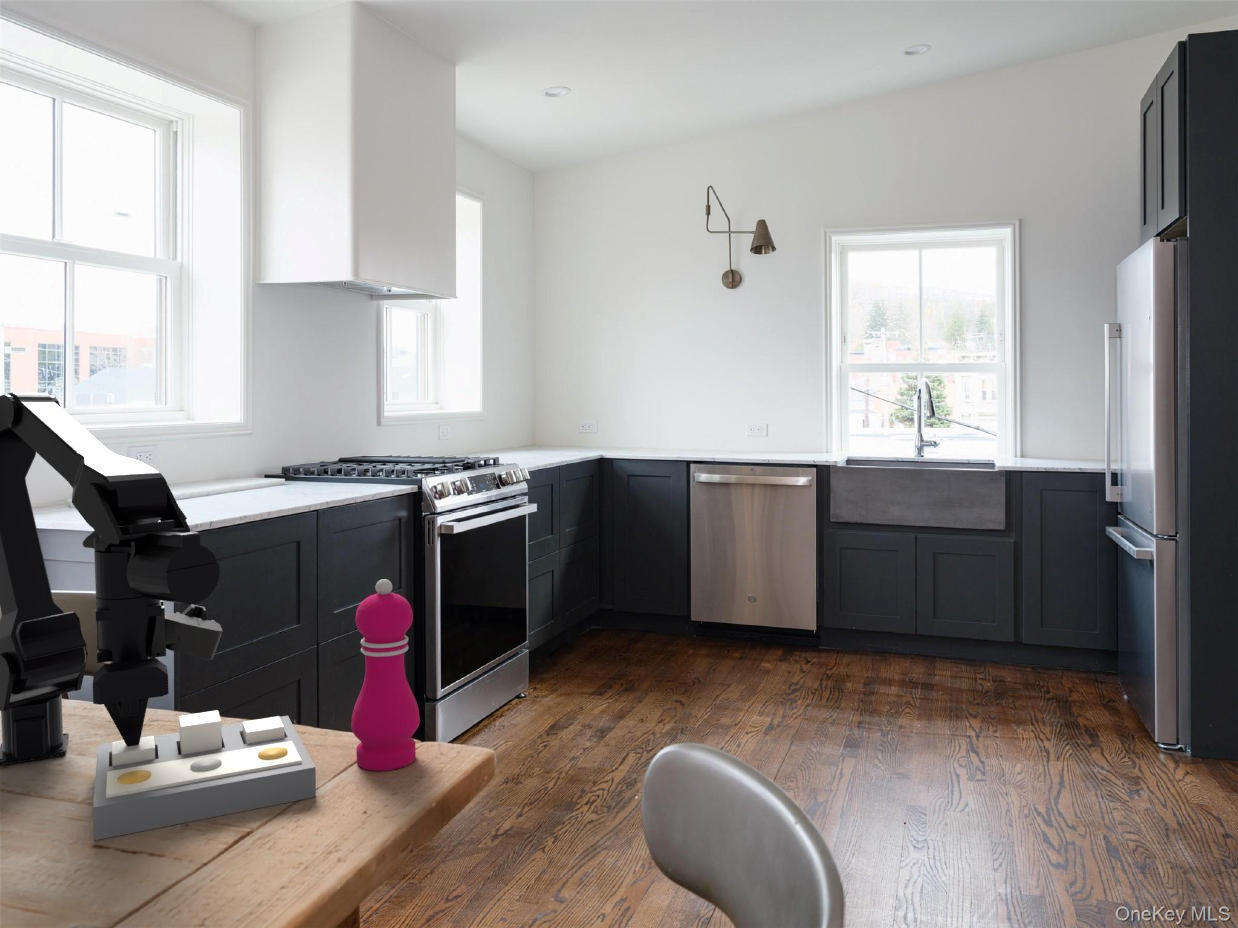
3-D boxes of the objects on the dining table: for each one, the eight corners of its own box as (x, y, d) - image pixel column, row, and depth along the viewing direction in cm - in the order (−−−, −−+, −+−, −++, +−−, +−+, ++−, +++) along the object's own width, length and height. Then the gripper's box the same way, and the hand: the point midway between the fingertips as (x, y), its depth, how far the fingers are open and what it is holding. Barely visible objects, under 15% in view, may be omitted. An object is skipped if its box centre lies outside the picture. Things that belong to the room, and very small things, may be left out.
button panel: (98, 772, 95) (97, 739, 95) (288, 740, 104) (287, 711, 104) (94, 840, 80) (92, 802, 80) (315, 796, 89) (315, 762, 89)
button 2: (242, 750, 99) (242, 721, 99) (279, 743, 101) (278, 715, 100) (247, 762, 95) (246, 732, 95) (284, 755, 97) (284, 726, 97)
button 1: (113, 772, 93) (112, 741, 93) (154, 765, 95) (153, 735, 94) (113, 785, 90) (111, 754, 89) (155, 778, 91) (154, 747, 91)
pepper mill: (402, 775, 94) (400, 587, 93) (339, 770, 96) (336, 584, 94) (430, 750, 101) (428, 574, 100) (371, 745, 103) (368, 571, 102)
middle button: (179, 745, 96) (178, 715, 96) (218, 738, 98) (217, 710, 97) (181, 757, 92) (180, 726, 92) (221, 750, 94) (221, 720, 94)
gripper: (224, 603, 87) (228, 761, 88) (208, 572, 103) (211, 705, 104) (89, 615, 81) (95, 784, 82) (95, 580, 98) (100, 721, 99)
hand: (133, 744), depth 92 cm, fingers closed, pressing on button 1
